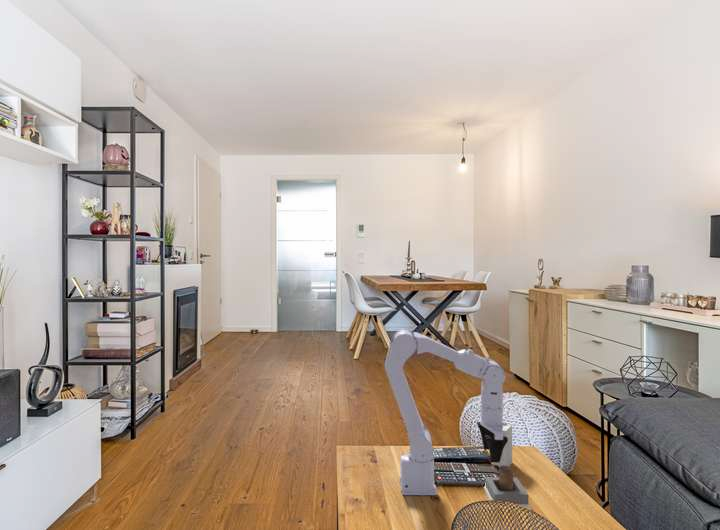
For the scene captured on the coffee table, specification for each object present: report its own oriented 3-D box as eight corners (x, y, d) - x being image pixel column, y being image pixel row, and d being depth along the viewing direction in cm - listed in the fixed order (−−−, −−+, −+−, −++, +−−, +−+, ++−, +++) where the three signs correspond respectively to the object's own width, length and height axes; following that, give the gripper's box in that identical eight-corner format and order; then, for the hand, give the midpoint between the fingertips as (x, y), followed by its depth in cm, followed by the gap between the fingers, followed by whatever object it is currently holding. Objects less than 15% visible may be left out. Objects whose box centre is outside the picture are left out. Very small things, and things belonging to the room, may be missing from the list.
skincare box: (499, 459, 136) (498, 421, 136) (512, 462, 133) (512, 424, 133) (492, 466, 131) (492, 427, 131) (506, 470, 128) (506, 431, 128)
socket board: (495, 511, 107) (495, 498, 107) (483, 486, 119) (483, 474, 119) (531, 512, 107) (531, 498, 107) (515, 486, 119) (515, 474, 119)
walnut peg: (501, 498, 111) (501, 472, 111) (497, 491, 115) (497, 465, 115) (515, 498, 111) (515, 472, 111) (510, 491, 115) (510, 465, 115)
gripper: (515, 415, 109) (514, 468, 109) (498, 397, 124) (498, 444, 124) (487, 415, 109) (487, 467, 110) (474, 397, 124) (474, 443, 124)
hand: (491, 455), depth 117 cm, fingers open, 7 cm apart
